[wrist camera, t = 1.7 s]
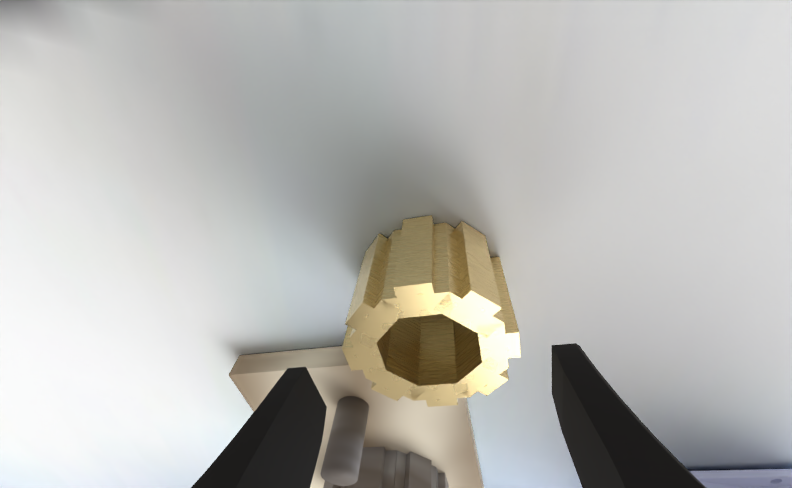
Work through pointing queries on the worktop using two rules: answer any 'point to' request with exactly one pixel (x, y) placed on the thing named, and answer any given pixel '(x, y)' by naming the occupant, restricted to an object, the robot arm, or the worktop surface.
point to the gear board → (371, 426)
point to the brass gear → (431, 315)
